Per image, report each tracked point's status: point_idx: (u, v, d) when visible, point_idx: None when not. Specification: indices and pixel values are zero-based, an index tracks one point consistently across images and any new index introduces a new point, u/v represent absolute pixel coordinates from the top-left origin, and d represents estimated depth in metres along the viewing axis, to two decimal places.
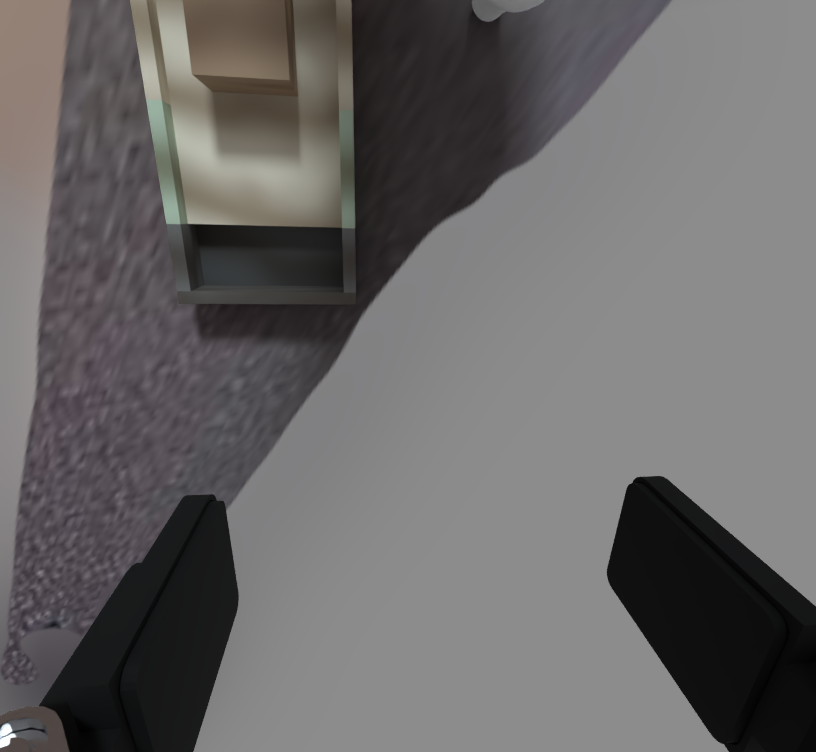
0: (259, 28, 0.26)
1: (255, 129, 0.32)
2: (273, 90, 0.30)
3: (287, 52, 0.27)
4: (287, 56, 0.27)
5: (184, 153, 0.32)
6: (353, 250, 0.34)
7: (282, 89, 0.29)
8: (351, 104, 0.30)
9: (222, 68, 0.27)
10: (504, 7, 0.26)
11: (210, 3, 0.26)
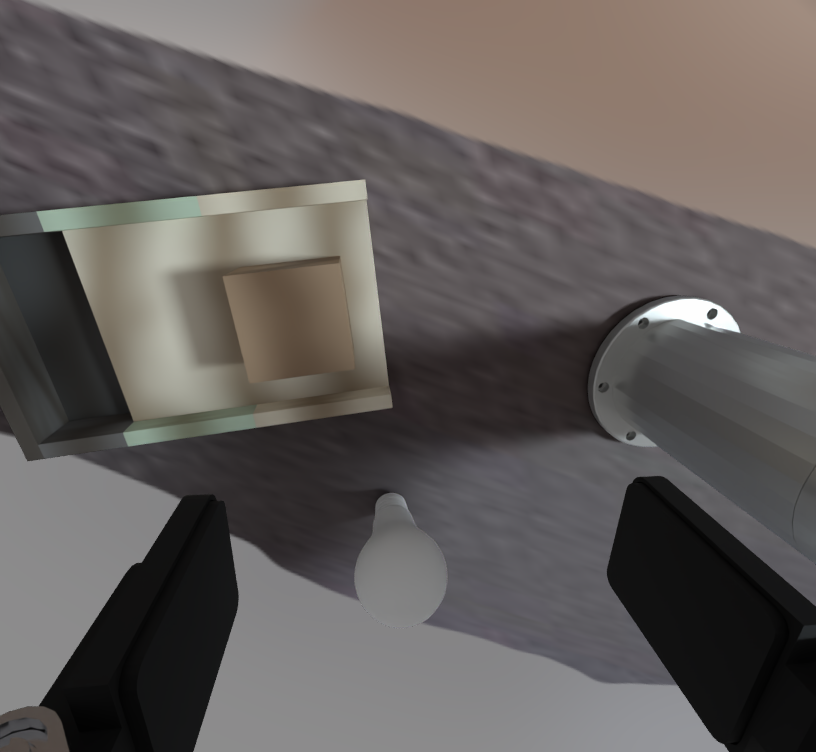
0: (291, 350, 0.24)
1: (213, 316, 0.26)
2: None
3: (276, 378, 0.24)
4: (272, 379, 0.24)
5: (156, 230, 0.24)
6: (99, 448, 0.27)
7: None
8: (261, 425, 0.28)
9: (240, 311, 0.23)
10: None
11: (301, 298, 0.23)
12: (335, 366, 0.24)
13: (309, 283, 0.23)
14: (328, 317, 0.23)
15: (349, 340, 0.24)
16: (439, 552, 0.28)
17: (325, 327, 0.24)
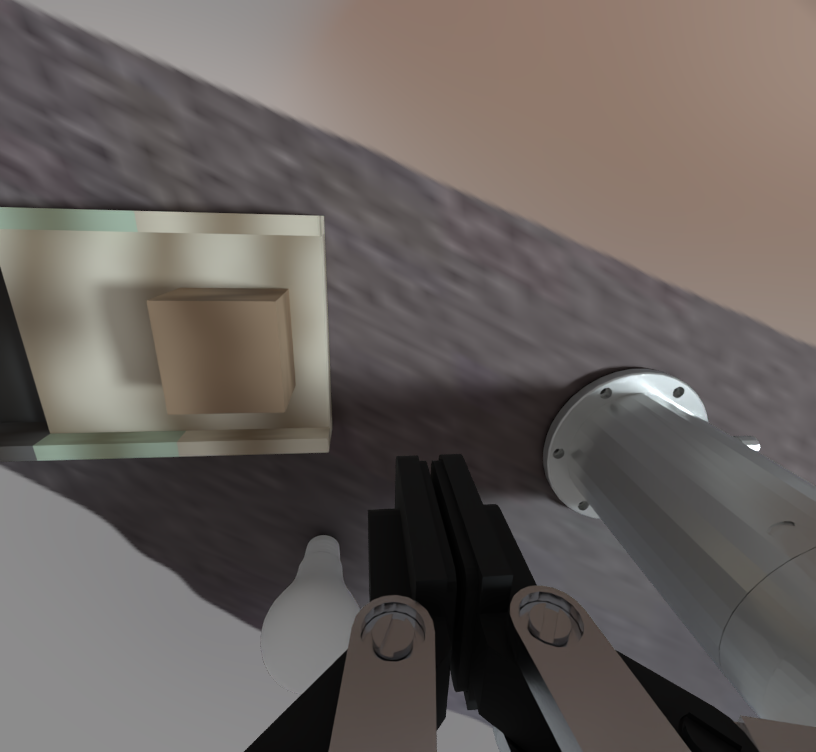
0: (216, 385, 0.22)
1: (146, 335, 0.25)
2: None
3: (198, 412, 0.23)
4: (193, 412, 0.23)
5: (92, 239, 0.23)
6: (5, 459, 0.25)
7: None
8: (185, 454, 0.26)
9: (162, 339, 0.21)
10: (263, 623, 0.26)
11: (231, 333, 0.21)
12: (263, 407, 0.23)
13: (241, 318, 0.21)
14: (260, 356, 0.22)
15: (280, 382, 0.22)
16: (356, 614, 0.26)
17: (255, 366, 0.22)
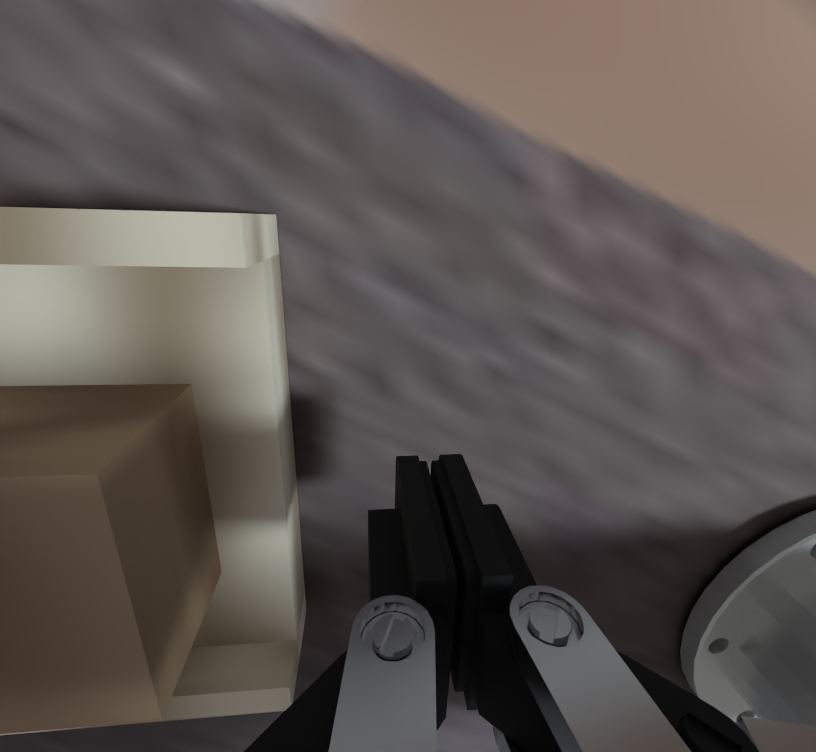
0: None
1: None
2: None
3: None
4: None
5: None
6: None
7: None
8: None
9: None
10: None
11: None
12: (103, 714, 0.09)
13: None
14: (73, 609, 0.08)
15: (142, 661, 0.08)
16: None
17: (63, 632, 0.08)
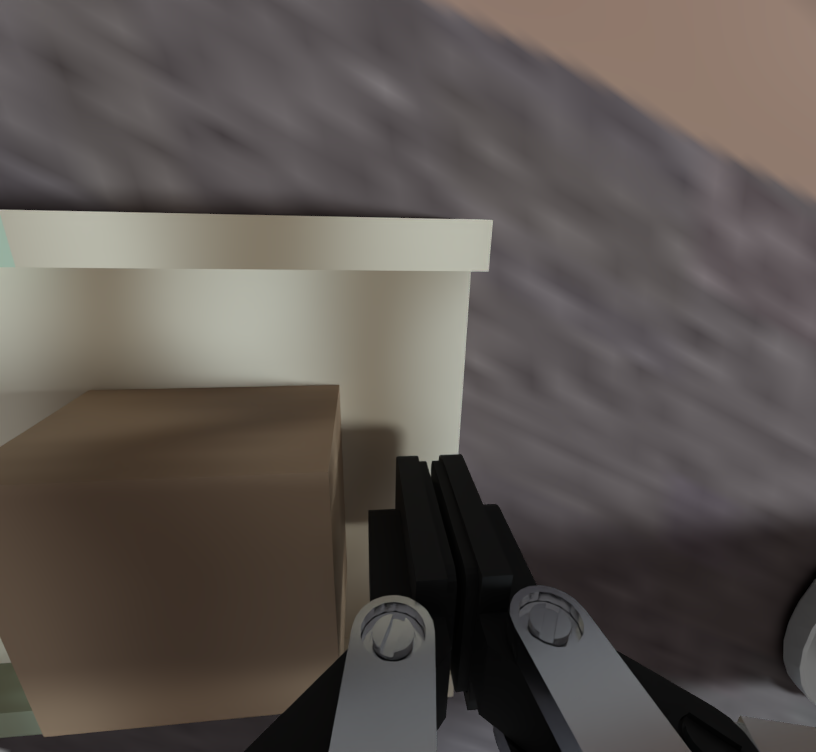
0: (166, 670, 0.08)
1: None
2: None
3: (124, 723, 0.09)
4: (112, 725, 0.09)
5: None
6: None
7: None
8: None
9: (4, 581, 0.07)
10: None
11: (200, 555, 0.08)
12: (288, 703, 0.09)
13: (230, 518, 0.07)
14: (281, 601, 0.08)
15: (334, 651, 0.09)
16: None
17: (268, 623, 0.08)
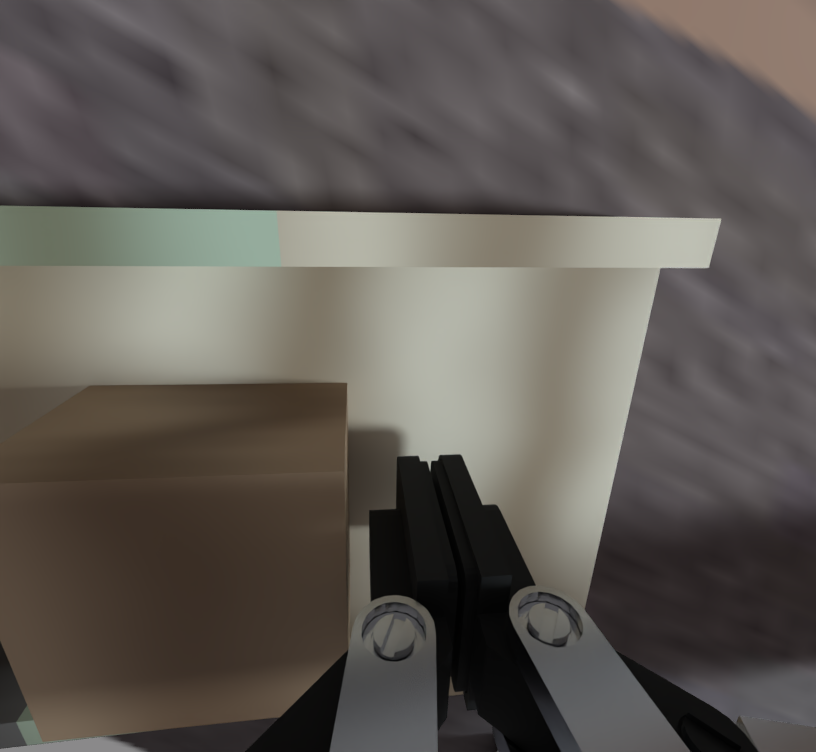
0: (171, 673, 0.08)
1: None
2: None
3: (126, 727, 0.09)
4: (114, 729, 0.09)
5: (150, 280, 0.09)
6: None
7: None
8: None
9: (6, 582, 0.07)
10: None
11: (211, 556, 0.07)
12: None
13: (242, 518, 0.07)
14: (293, 602, 0.08)
15: (343, 652, 0.09)
16: None
17: (278, 625, 0.08)
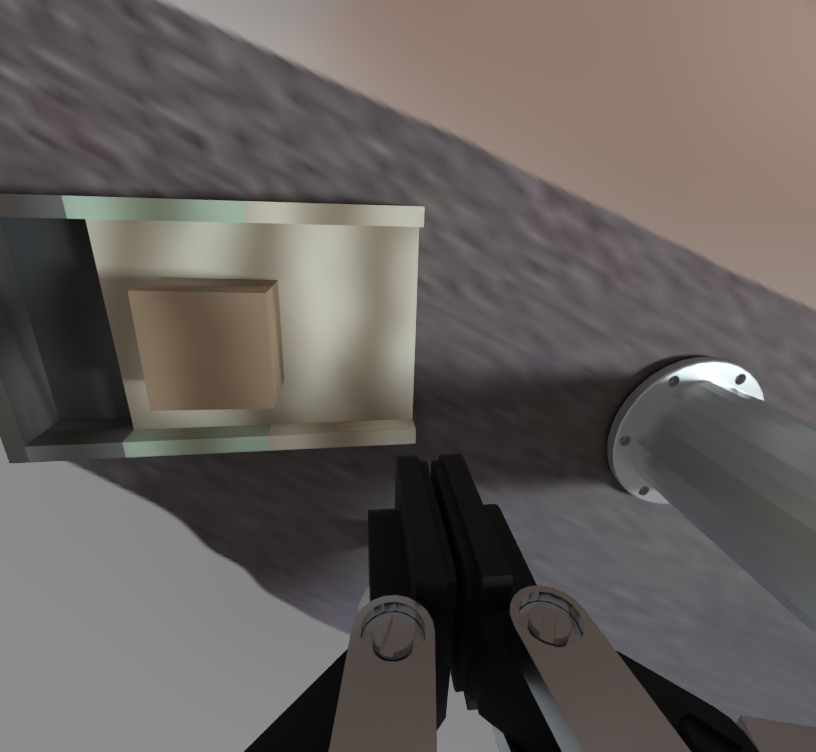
0: (202, 380, 0.21)
1: None
2: None
3: (183, 408, 0.22)
4: (178, 408, 0.22)
5: (190, 230, 0.22)
6: (93, 456, 0.24)
7: None
8: (275, 448, 0.26)
9: (145, 331, 0.20)
10: None
11: (218, 326, 0.20)
12: (251, 403, 0.22)
13: (229, 310, 0.20)
14: (248, 350, 0.21)
15: (270, 377, 0.22)
16: None
17: (243, 360, 0.21)
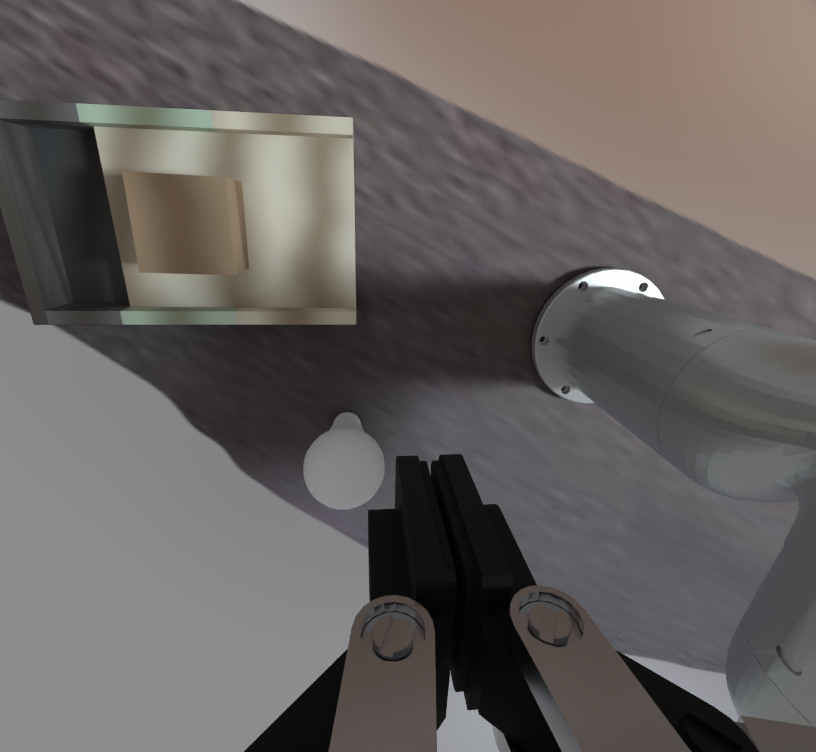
0: (178, 248, 0.28)
1: None
2: None
3: (164, 272, 0.28)
4: (160, 272, 0.28)
5: (173, 138, 0.29)
6: (98, 322, 0.31)
7: None
8: (241, 322, 0.32)
9: (135, 205, 0.26)
10: None
11: (189, 202, 0.27)
12: (216, 269, 0.28)
13: (198, 190, 0.27)
14: (213, 224, 0.27)
15: (230, 248, 0.28)
16: (380, 451, 0.32)
17: (209, 232, 0.27)
